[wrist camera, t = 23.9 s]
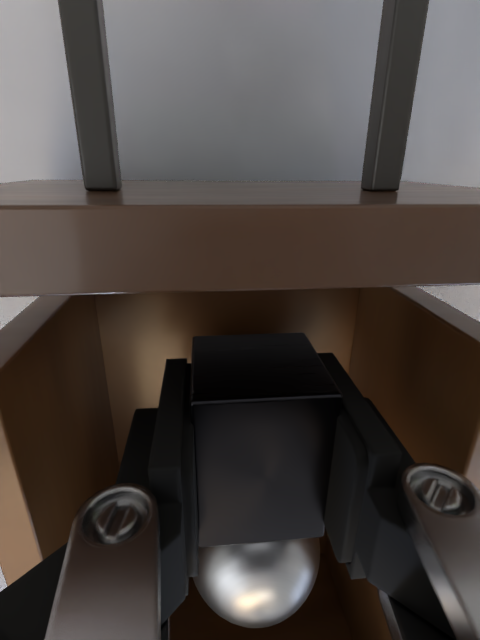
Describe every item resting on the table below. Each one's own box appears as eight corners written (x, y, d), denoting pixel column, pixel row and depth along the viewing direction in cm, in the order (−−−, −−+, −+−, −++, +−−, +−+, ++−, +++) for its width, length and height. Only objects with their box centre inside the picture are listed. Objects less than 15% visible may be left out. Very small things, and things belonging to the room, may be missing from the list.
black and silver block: (180, 335, 10) (170, 423, 6) (315, 330, 10) (372, 412, 7) (191, 536, 13) (189, 668, 9) (297, 527, 13) (331, 652, 10)
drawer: (-6, -23, 9) (-534, -506, 3) (434, 2, 11) (863, -287, 4) (105, 561, 18) (47, 813, 11) (346, 538, 19) (432, 752, 12)
